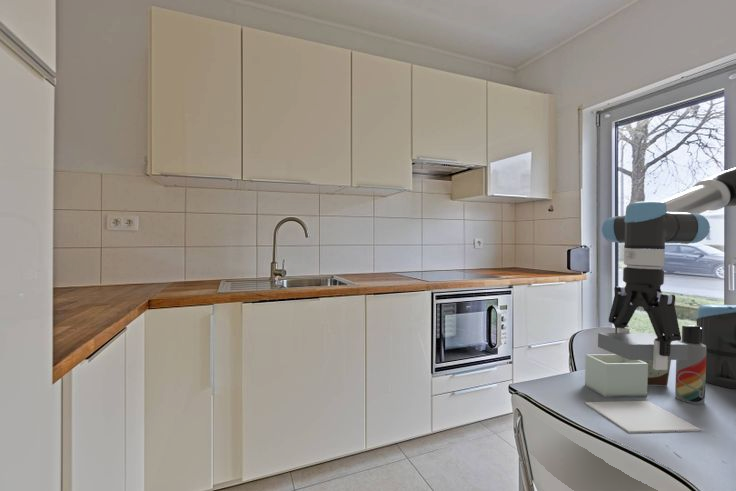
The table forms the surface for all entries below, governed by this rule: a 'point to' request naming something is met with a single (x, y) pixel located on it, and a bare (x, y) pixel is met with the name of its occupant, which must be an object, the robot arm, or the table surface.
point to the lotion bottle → (691, 367)
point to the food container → (657, 374)
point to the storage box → (616, 375)
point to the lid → (638, 346)
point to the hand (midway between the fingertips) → (640, 361)
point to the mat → (641, 417)
